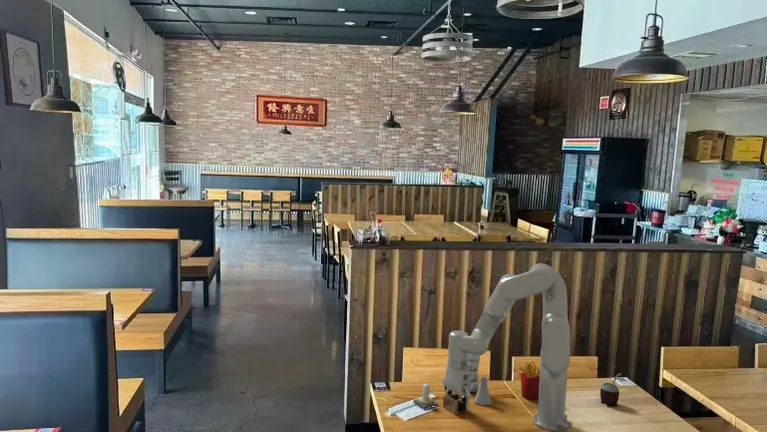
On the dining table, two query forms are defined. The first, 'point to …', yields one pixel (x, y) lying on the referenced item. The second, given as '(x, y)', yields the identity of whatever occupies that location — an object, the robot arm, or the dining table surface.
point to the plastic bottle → (473, 371)
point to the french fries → (530, 382)
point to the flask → (483, 393)
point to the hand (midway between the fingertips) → (455, 407)
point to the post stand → (425, 399)
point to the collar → (453, 403)
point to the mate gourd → (609, 393)
